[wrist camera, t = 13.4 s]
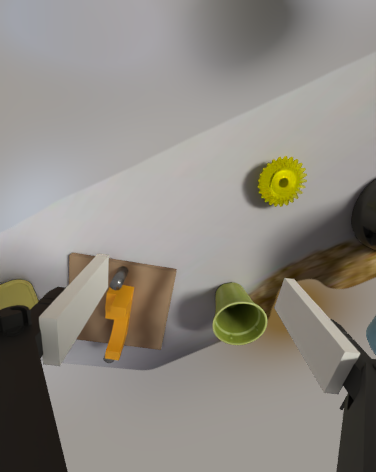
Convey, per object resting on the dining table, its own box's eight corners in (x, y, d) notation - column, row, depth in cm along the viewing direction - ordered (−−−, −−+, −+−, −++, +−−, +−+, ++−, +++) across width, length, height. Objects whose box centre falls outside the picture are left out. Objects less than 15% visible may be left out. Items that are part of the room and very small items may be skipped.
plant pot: (234, 319, 48) (245, 353, 39) (198, 301, 46) (202, 332, 38) (261, 287, 45) (278, 316, 37) (223, 267, 43) (233, 293, 35)
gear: (246, 169, 37) (261, 210, 39) (253, 170, 33) (268, 216, 36) (291, 147, 36) (303, 192, 38) (303, 146, 32) (316, 195, 35)
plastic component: (-46, 290, 41) (-20, 296, 36) (1, 271, 47) (28, 274, 43) (-3, 374, 46) (24, 389, 42) (33, 347, 53) (60, 357, 48)
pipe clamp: (112, 283, 42) (100, 304, 36) (134, 286, 43) (126, 308, 37) (106, 330, 46) (95, 357, 40) (127, 333, 47) (118, 360, 41)
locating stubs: (129, 267, 41) (122, 281, 36) (120, 343, 47) (113, 363, 43) (118, 265, 41) (110, 279, 36) (111, 341, 47) (103, 362, 43)
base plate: (176, 269, 43) (176, 272, 42) (161, 345, 50) (160, 349, 48) (72, 252, 41) (69, 255, 40) (71, 334, 48) (68, 338, 47)
